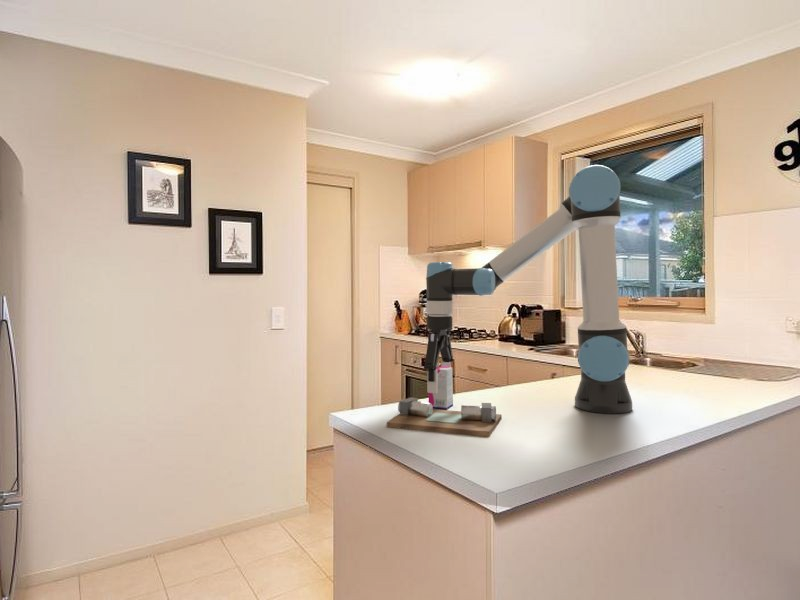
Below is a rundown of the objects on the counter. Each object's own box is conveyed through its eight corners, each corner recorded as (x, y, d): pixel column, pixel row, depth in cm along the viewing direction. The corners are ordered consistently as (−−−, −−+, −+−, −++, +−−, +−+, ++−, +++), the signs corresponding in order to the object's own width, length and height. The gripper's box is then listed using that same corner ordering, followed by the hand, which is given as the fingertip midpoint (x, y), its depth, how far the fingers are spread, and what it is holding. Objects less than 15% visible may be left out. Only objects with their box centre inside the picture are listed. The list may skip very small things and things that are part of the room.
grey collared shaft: (495, 417, 127) (495, 403, 127) (496, 423, 122) (496, 408, 122) (462, 416, 129) (461, 402, 128) (461, 422, 123) (460, 407, 123)
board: (501, 419, 130) (501, 413, 130) (489, 436, 115) (489, 430, 115) (408, 411, 140) (408, 406, 140) (386, 427, 125) (386, 421, 125)
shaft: (434, 414, 131) (434, 400, 131) (424, 419, 127) (424, 404, 127) (407, 410, 136) (406, 396, 136) (396, 415, 132) (396, 400, 132)
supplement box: (453, 405, 146) (453, 366, 146) (446, 410, 141) (446, 370, 140) (435, 403, 149) (434, 365, 148) (427, 408, 143) (427, 368, 143)
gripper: (439, 312, 157) (439, 379, 158) (412, 317, 134) (412, 396, 134) (462, 313, 154) (462, 380, 155) (439, 318, 131) (439, 398, 132)
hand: (439, 388), depth 145 cm, fingers open, 13 cm apart
